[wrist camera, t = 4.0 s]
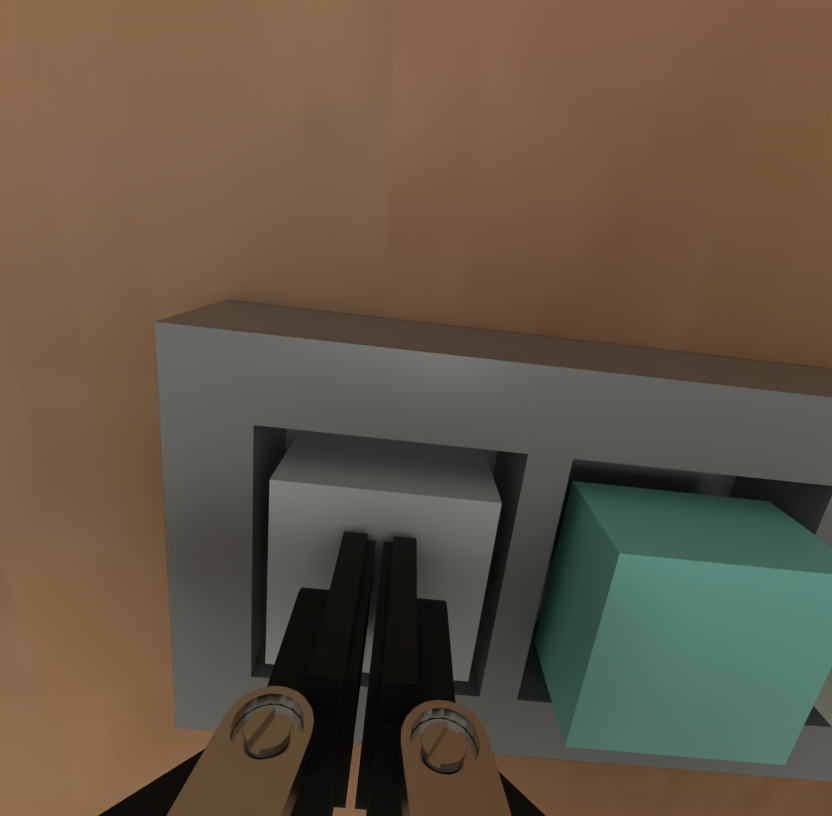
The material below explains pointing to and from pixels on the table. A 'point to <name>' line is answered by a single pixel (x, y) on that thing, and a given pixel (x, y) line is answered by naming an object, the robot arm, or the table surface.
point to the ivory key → (825, 699)
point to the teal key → (684, 624)
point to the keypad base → (473, 428)
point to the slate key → (382, 525)
